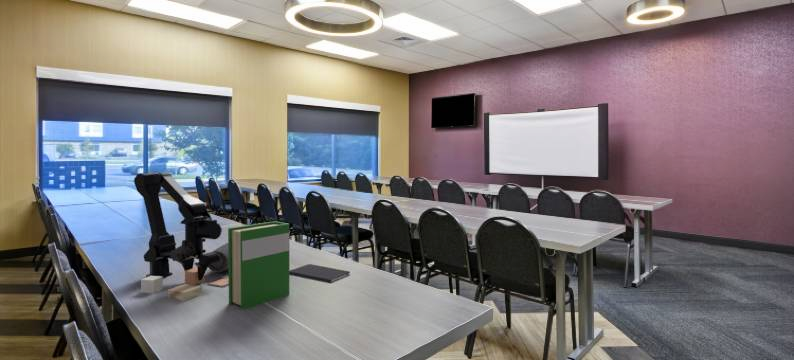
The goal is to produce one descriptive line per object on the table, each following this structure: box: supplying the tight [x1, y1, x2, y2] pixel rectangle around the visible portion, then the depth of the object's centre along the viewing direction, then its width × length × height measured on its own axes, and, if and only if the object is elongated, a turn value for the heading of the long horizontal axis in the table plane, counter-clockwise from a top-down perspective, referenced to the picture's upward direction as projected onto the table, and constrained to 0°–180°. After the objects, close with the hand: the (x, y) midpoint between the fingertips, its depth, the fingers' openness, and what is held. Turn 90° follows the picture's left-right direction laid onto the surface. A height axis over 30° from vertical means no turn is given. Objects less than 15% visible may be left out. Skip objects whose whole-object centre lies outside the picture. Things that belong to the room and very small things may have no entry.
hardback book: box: [227, 221, 290, 311], centre depth 135 cm, size 18×7×24 cm, turn 143°
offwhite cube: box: [140, 276, 164, 294], centre depth 142 cm, size 4×4×4 cm
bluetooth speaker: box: [207, 242, 229, 273], centre depth 172 cm, size 23×9×10 cm, turn 179°
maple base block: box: [167, 283, 203, 302], centre depth 138 cm, size 7×7×3 cm
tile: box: [207, 278, 229, 288], centre depth 151 cm, size 7×7×1 cm
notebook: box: [289, 263, 351, 283], centre depth 165 cm, size 13×2×21 cm
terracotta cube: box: [184, 267, 205, 285], centre depth 152 cm, size 4×4×4 cm
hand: (194, 279), depth 152 cm, fingers open, 5 cm apart
